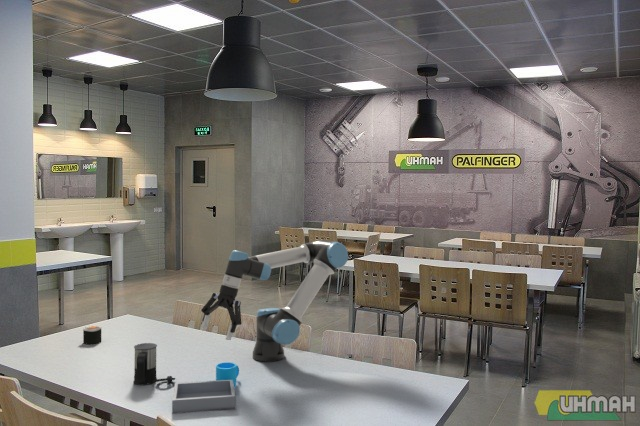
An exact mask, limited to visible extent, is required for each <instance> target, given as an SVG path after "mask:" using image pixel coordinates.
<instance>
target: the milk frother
mask: <svg viewBox="0 0 640 426" xmlns="http://www.w3.org/2000/svg"><path fill="white" fill-rule="evenodd" d="M157 347H158V344H157V343H152V342H148V343H147V342H144V343H139V344H136V345H134V346H133V349H134V368H133V369H134V375H133V376H134V377H133V384H135V385H138V386H143V385H144V386H147V385H152V384H155V383H156V382H157V383H158V382H165V381H167V383H168V384H170V383H172V382H173V381H175V380H176V377H173V376H172V375H168V376H167V377H166V378H157Z"/></svg>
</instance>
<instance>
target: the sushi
mask: <svg viewBox="0 0 640 426" xmlns="http://www.w3.org/2000/svg"><path fill="white" fill-rule="evenodd" d="M102 328H103V327H100V326H97V325H96V326H94V325H91V326H87V327H86V326H85V327H84V328H83V329H82V331H83V332H82V333H83V336H82V338H83V341H82V342H83V344H84V345H88V346H89V345H90V346H93V345H98V344H101V343H102Z"/></svg>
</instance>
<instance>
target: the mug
mask: <svg viewBox="0 0 640 426" xmlns="http://www.w3.org/2000/svg"><path fill="white" fill-rule="evenodd" d="M239 374H240V369H239V365H237V364H236V363H234V362H227V361H226V362H220V363H218V364H216V365H215V381H216V380H232V379H233V384H234V388H235V387H237V378H238V377H239Z"/></svg>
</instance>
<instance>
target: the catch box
mask: <svg viewBox="0 0 640 426" xmlns="http://www.w3.org/2000/svg"><path fill="white" fill-rule="evenodd" d="M172 392H173V393H172V398H171V399H172V400H171V408H172V409H171V414H172V415H173V414H175V415H176V414H186V413H201V412H212V411H213V412H216V411H226V410H227V411H230V410H236V391H235V387H234V384H233V379H232V380H216V379H215V380H203V381H201V380H200V381H199V380H198V381H189V382H187V381H184V382H175V383H174V387H173V391H172Z"/></svg>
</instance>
